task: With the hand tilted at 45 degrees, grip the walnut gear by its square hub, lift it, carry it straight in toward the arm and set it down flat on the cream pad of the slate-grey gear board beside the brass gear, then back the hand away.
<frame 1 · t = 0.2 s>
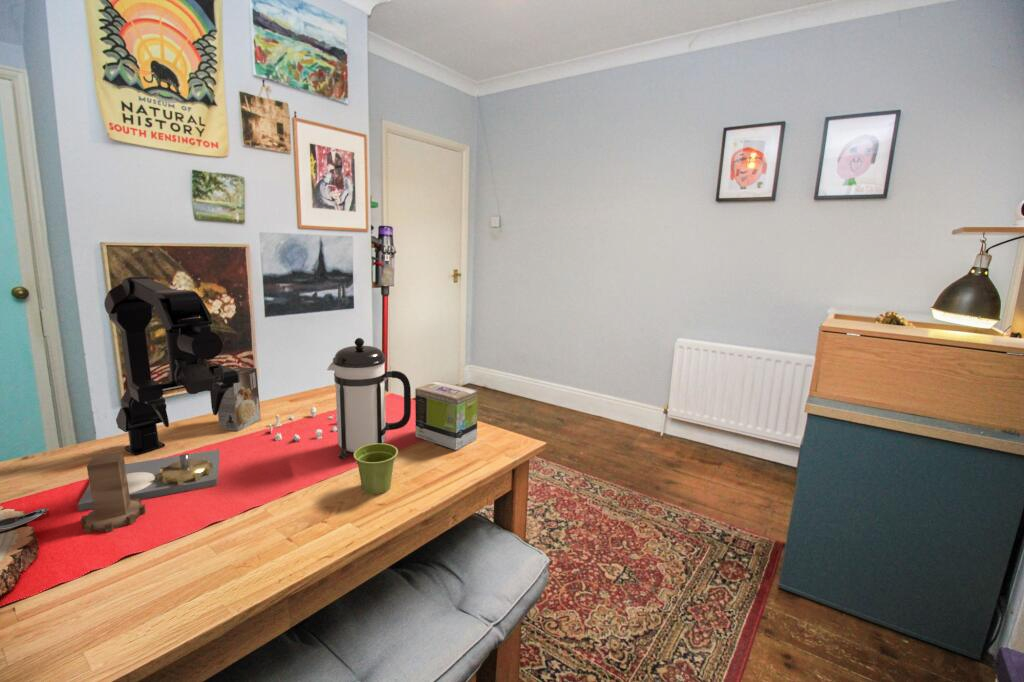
hand: (191, 420, 101), 14 cm above the table, tool pointing down, fingers open, 9 cm apart
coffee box: (240, 424, 135), on the table
coffee press: (367, 448, 124), on the table
game piece set: (305, 429, 135), on the table
walnut gear: (114, 518, 90), on the table
gear board: (157, 479, 104), on the table
plant pot: (376, 488, 104), on the table
tea box: (446, 439, 132), on the table
brass gear: (186, 480, 104), resting on gear board
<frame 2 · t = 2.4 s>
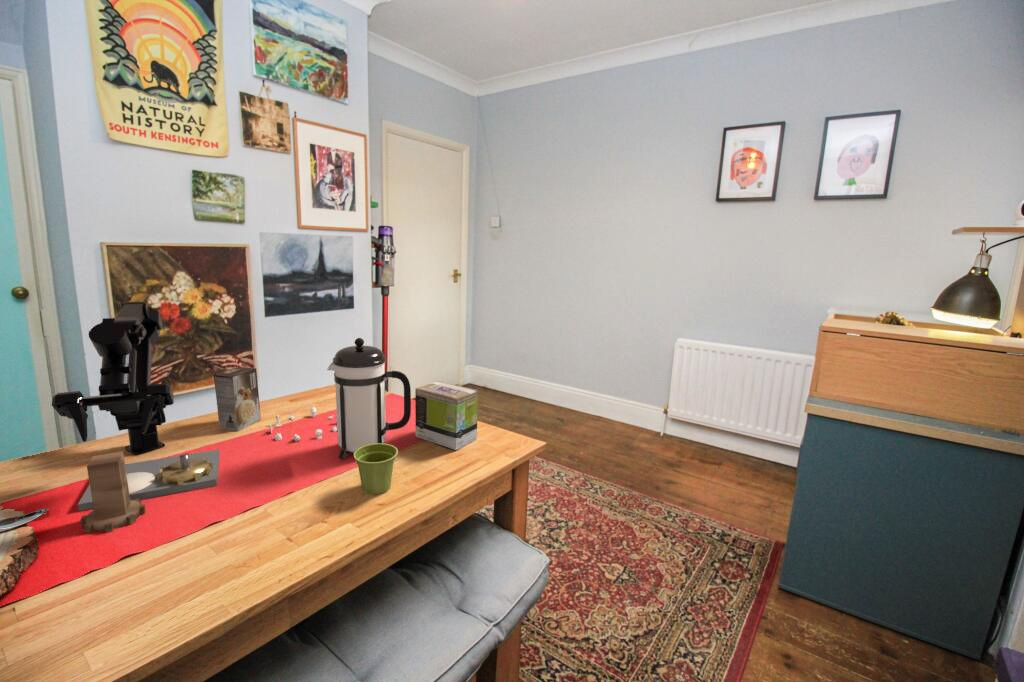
hand: (114, 437, 94), 14 cm above the table, tool tilted 45°, fingers open, 9 cm apart
nothing on the table moved.
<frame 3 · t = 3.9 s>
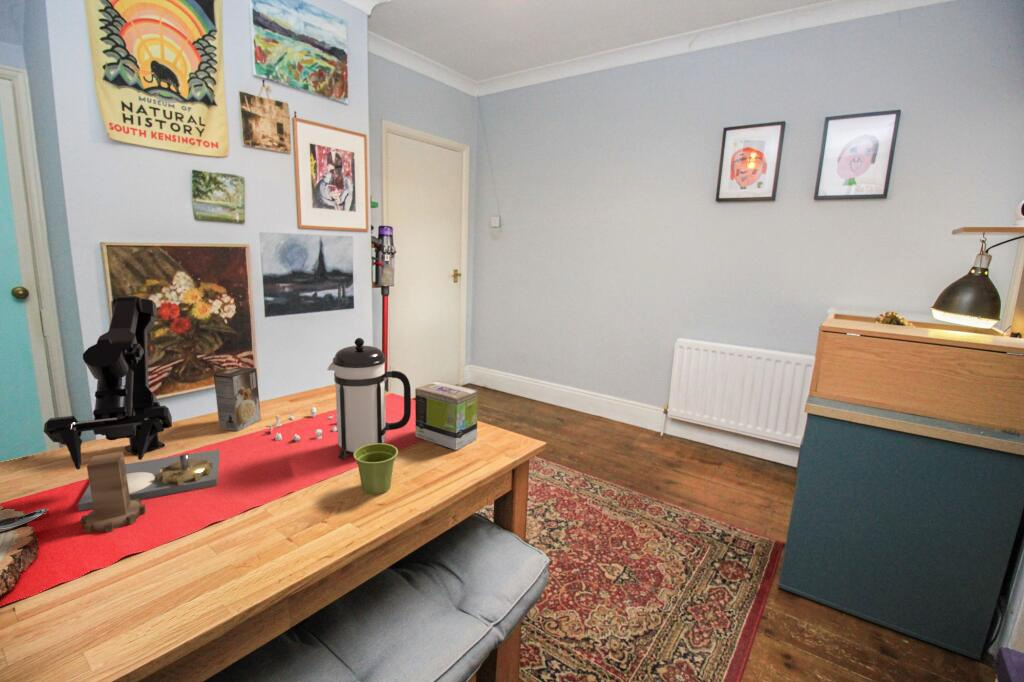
hand: (109, 463, 89), 10 cm above the table, tool tilted 45°, fingers open, 9 cm apart
nothing on the table moved.
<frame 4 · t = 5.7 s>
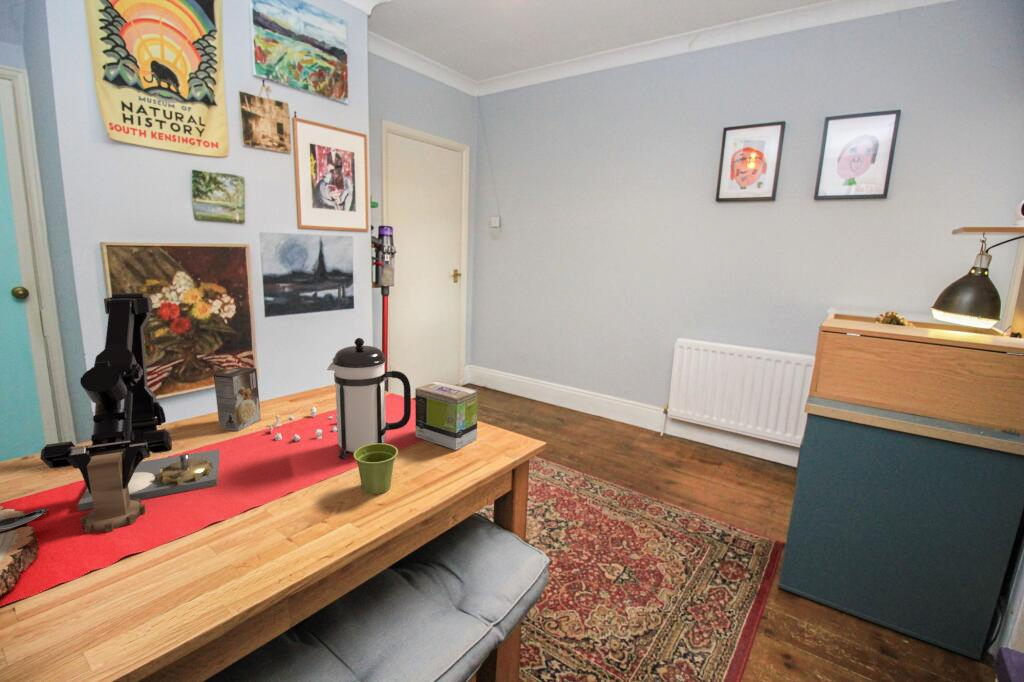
hand: (108, 490, 87), 7 cm above the table, tool tilted 45°, fingers closed on walnut gear, 4 cm apart
walnut gear: (114, 518, 90), on the table, touching gripper
everything else where it was.
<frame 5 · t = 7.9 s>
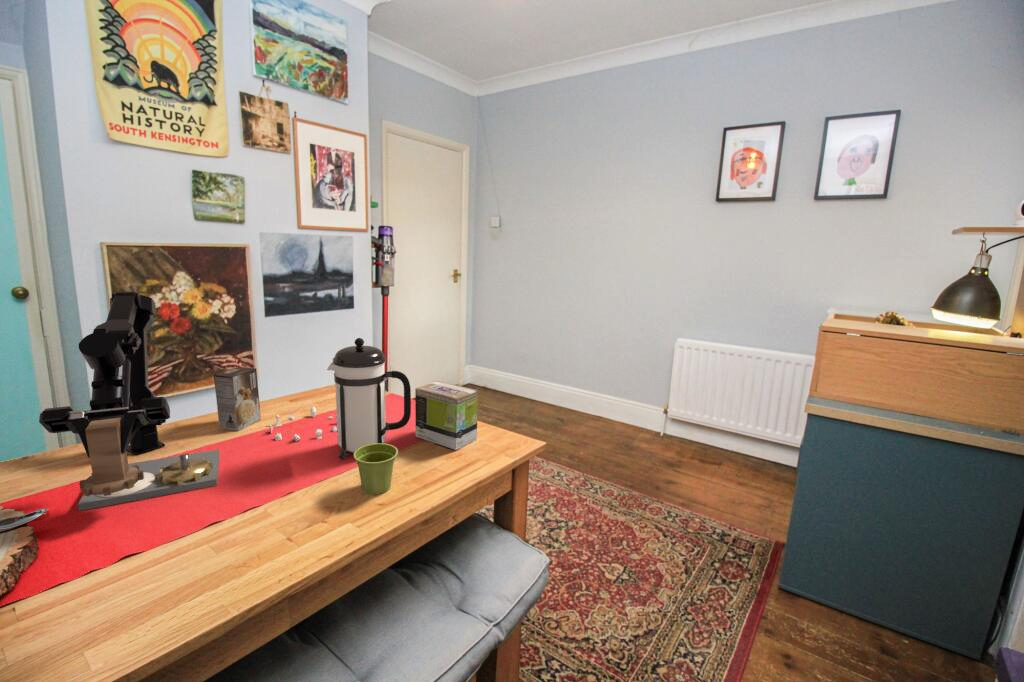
hand: (106, 455, 88), 13 cm above the table, tool tilted 45°, fingers closed on walnut gear, 4 cm apart
walnut gear: (113, 483, 90), point 6 cm above the table, touching gripper
everything else where it was.
when the fingers open (9 cm above the table, at t = 10.2 s): walnut gear drops 1 cm, resting on gear board.
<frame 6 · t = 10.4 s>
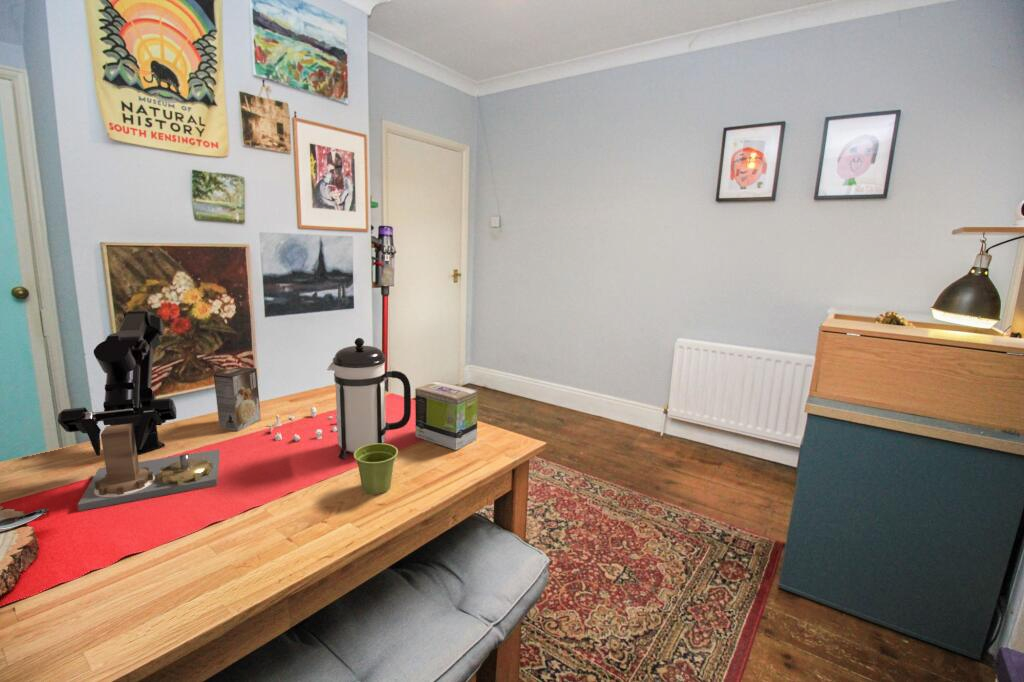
hand: (118, 452, 96), 10 cm above the table, tool tilted 45°, fingers open, 6 cm apart
walnut gear: (125, 483, 99), point 2 cm above the table, touching gear board
everything else where it was.
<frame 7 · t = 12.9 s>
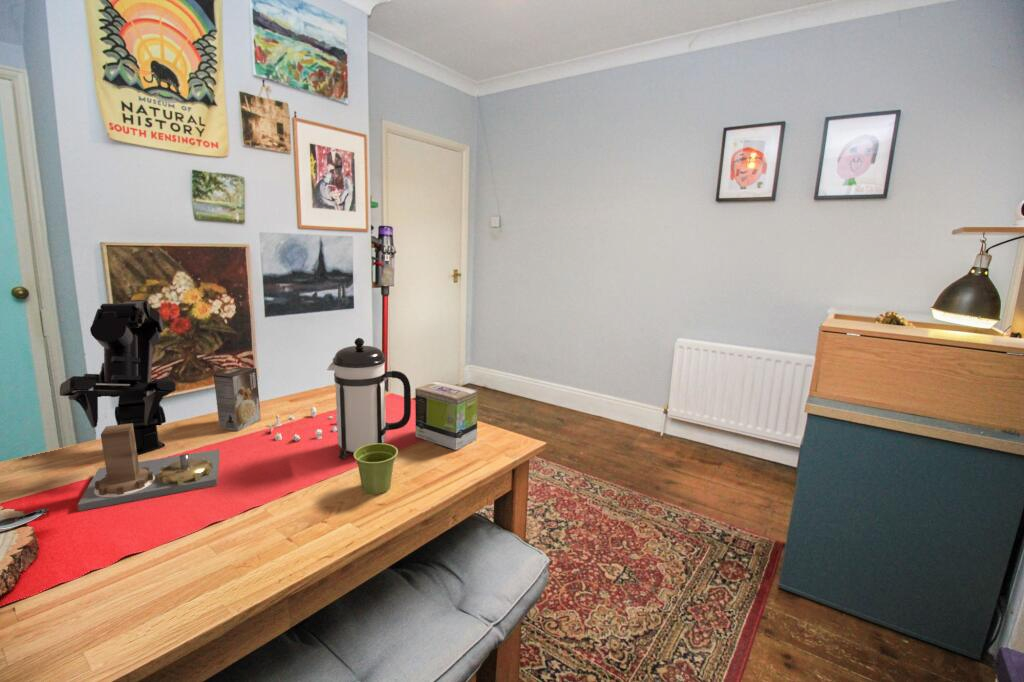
hand: (121, 426, 99), 13 cm above the table, tool tilted 30°, fingers open, 9 cm apart
nothing on the table moved.
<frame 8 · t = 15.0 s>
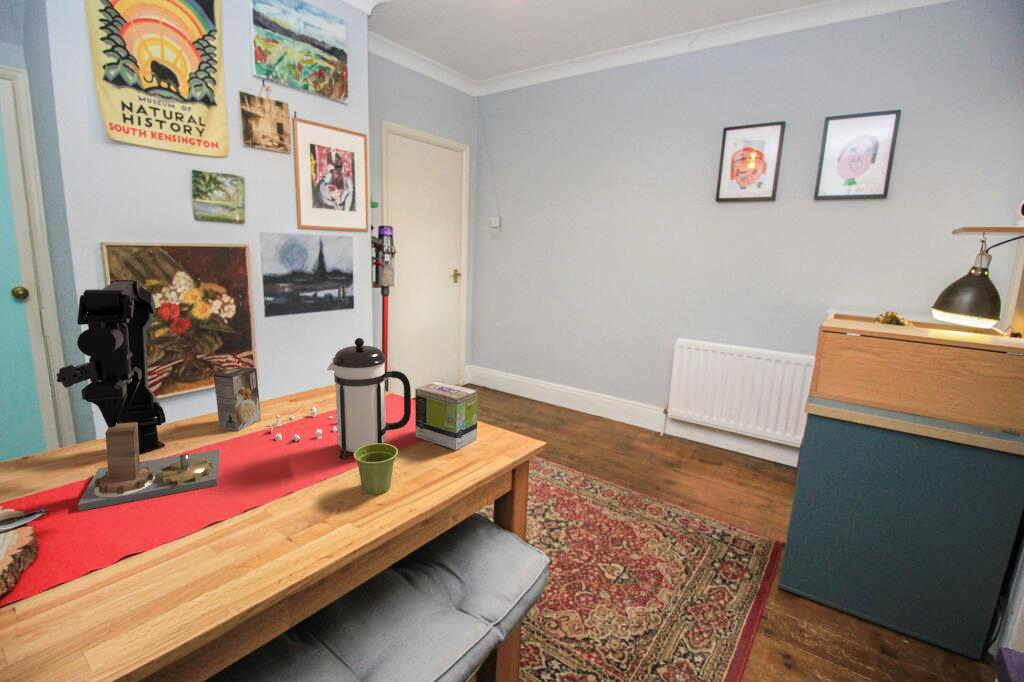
hand: (117, 420, 100), 14 cm above the table, tool pointing down, fingers open, 9 cm apart
walnut gear: (125, 482, 99), point 2 cm above the table, touching gear board, gripper
everything else where it was.
at the end: walnut gear 0.0 cm from the target spot, point 2.0 cm above the table; walnut gear tilted 4°; the gripper is holding nothing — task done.
